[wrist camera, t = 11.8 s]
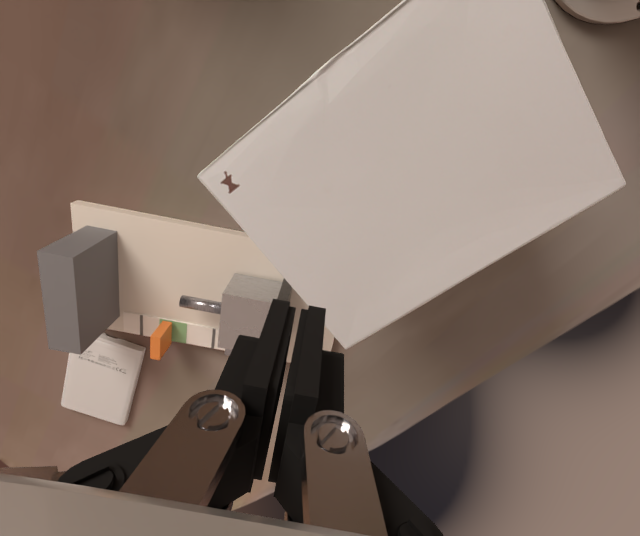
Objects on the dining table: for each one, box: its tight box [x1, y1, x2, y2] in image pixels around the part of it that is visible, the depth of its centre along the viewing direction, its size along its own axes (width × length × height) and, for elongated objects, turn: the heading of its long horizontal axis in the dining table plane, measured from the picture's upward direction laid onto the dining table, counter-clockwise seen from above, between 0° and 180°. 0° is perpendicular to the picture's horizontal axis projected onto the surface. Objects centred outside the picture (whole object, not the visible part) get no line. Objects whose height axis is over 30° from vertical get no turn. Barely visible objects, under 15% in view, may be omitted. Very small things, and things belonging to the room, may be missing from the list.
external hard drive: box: [61, 333, 146, 425], centre depth 48 cm, size 2×8×12 cm
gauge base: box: [37, 200, 334, 363], centre depth 39 cm, size 28×14×8 cm, turn 80°
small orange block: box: [150, 321, 172, 360], centre depth 42 cm, size 1×3×3 cm, turn 169°
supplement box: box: [197, 0, 626, 349], centre depth 27 cm, size 17×13×18 cm
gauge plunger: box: [179, 273, 292, 356], centre depth 39 cm, size 10×10×6 cm
